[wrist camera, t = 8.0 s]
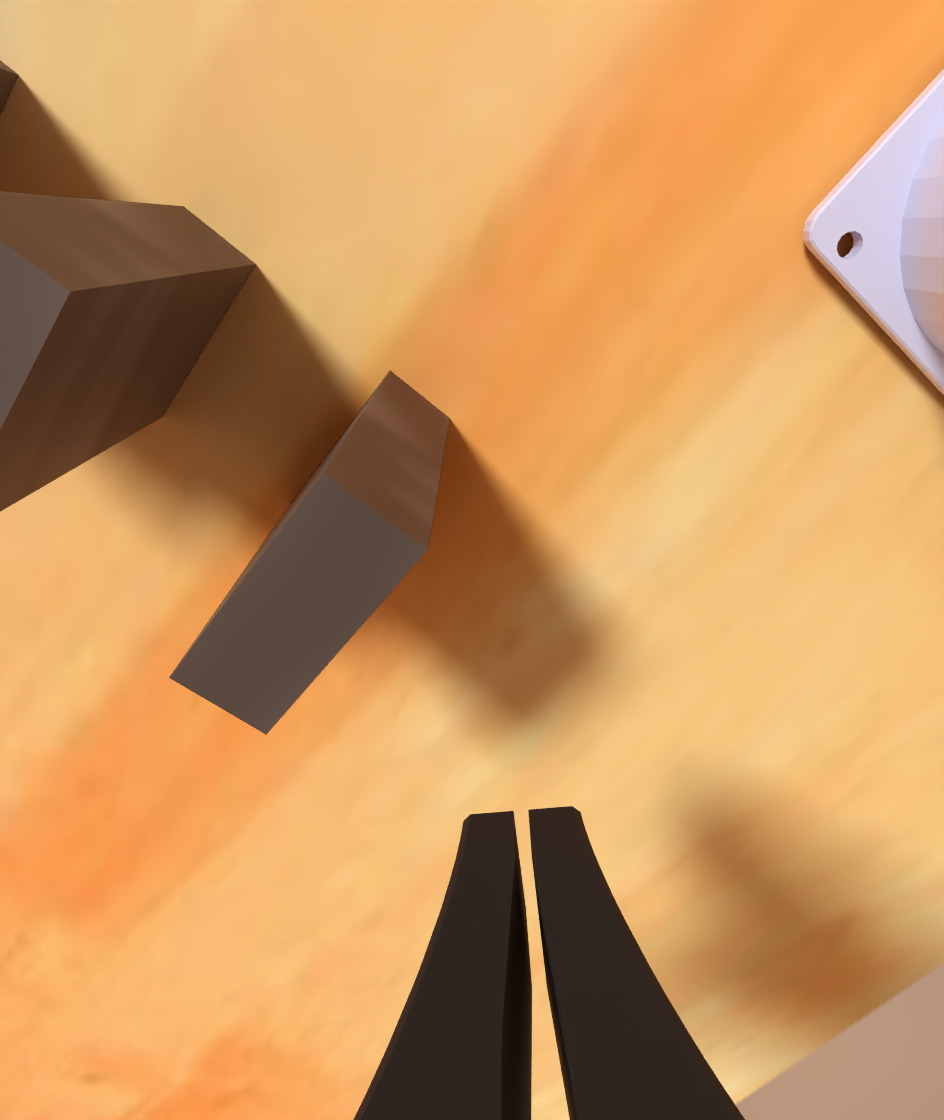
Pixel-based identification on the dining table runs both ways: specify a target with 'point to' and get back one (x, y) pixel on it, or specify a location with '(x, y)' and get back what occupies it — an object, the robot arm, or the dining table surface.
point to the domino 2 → (325, 561)
